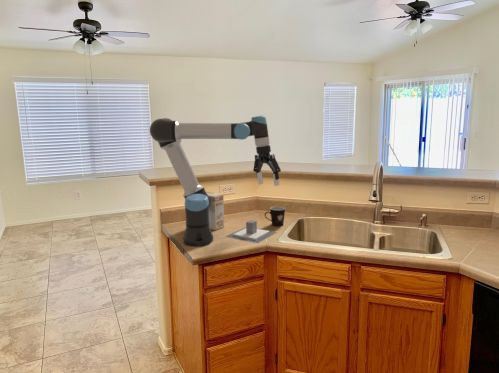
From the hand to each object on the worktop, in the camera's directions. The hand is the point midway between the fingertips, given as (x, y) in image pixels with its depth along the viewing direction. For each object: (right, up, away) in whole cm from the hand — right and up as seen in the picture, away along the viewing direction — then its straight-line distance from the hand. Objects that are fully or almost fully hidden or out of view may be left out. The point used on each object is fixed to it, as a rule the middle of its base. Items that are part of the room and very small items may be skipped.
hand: (268, 184), depth 196 cm
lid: (-9, -26, -2) cm, 28 cm away
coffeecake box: (-32, -24, +14) cm, 43 cm away
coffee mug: (+4, -23, +15) cm, 28 cm away
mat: (-9, -27, -2) cm, 28 cm away
